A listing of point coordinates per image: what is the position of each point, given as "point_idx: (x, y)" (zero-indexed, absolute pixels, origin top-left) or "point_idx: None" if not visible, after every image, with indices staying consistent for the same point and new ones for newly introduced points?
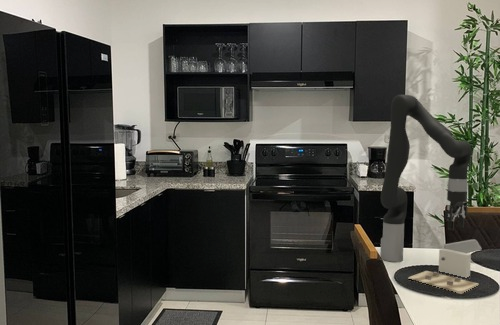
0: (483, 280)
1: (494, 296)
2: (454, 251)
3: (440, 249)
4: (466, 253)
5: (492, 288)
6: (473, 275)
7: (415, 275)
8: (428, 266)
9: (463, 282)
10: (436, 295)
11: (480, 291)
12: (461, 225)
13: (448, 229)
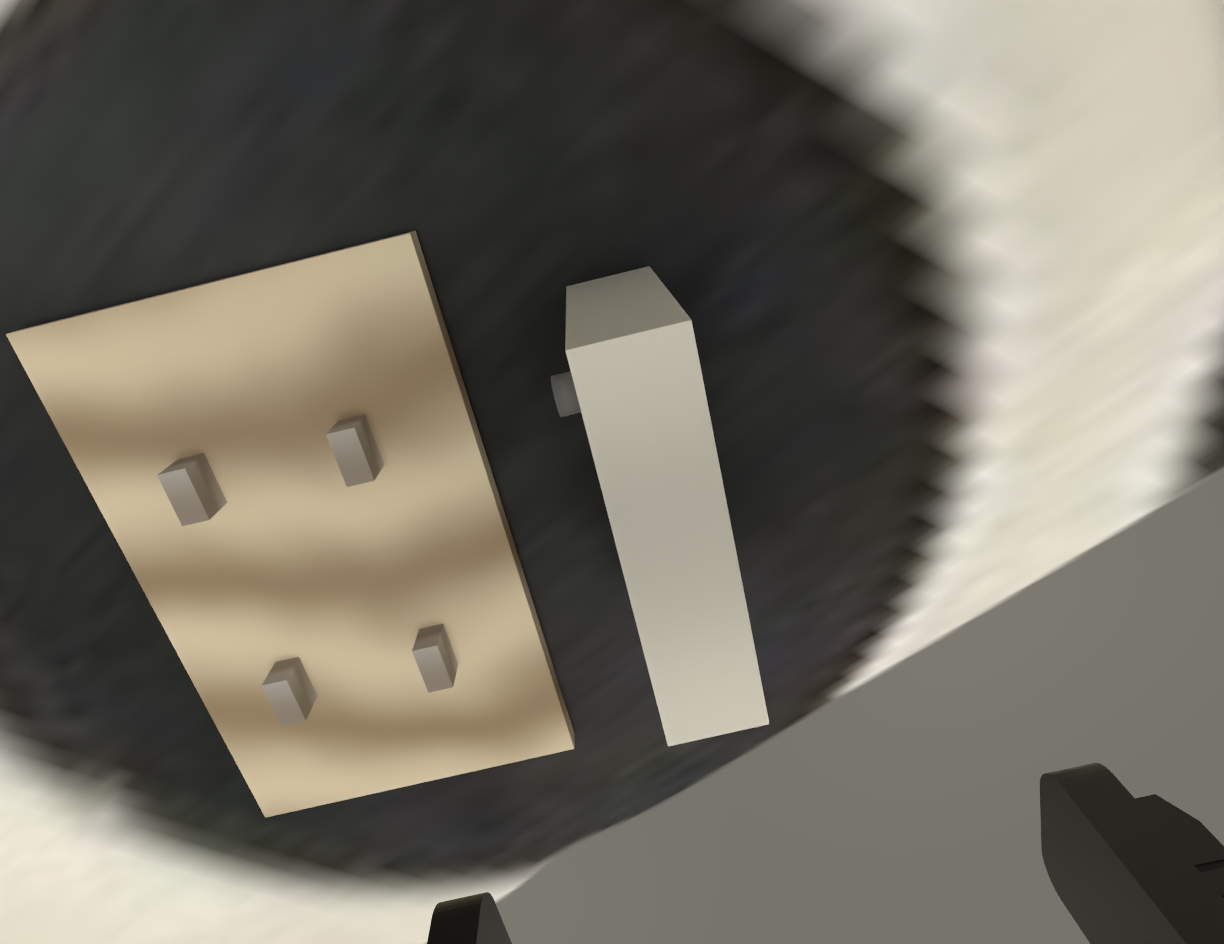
0: (756, 653)
1: None
2: (684, 545)
3: (580, 360)
4: (744, 682)
5: (630, 801)
6: (817, 520)
7: (139, 321)
8: (663, 12)
9: (473, 681)
10: (44, 749)
11: (477, 810)
12: (1074, 889)
13: (442, 913)
